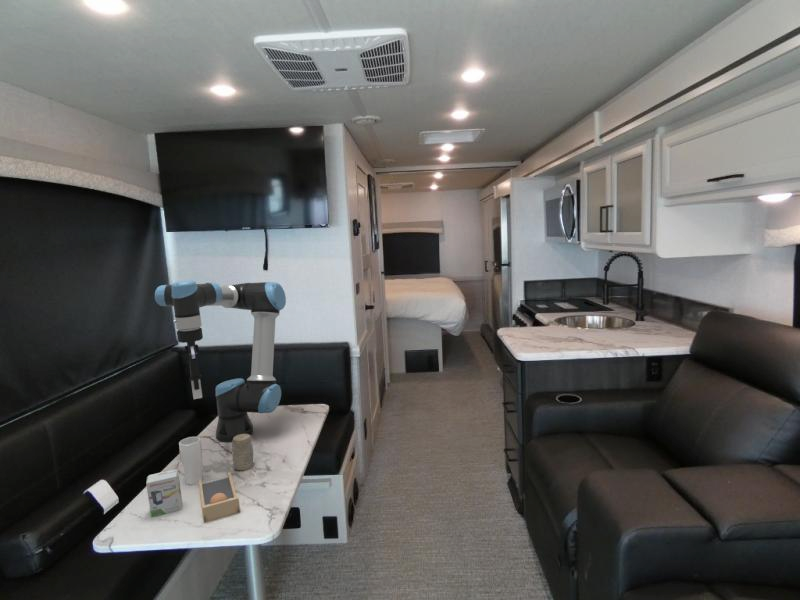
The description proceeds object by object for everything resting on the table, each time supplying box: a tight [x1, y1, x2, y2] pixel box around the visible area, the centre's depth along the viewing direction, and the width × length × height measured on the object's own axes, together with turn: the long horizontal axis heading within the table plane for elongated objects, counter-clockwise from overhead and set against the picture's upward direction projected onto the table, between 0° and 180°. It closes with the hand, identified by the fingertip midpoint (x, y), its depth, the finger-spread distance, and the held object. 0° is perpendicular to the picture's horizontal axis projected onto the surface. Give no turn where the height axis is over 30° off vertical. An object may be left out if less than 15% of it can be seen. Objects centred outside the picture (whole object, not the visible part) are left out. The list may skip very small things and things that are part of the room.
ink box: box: [145, 469, 183, 518], centre depth 142 cm, size 9×5×12 cm, turn 114°
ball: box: [210, 493, 228, 504], centre depth 141 cm, size 5×5×5 cm
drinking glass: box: [178, 436, 204, 486], centre depth 159 cm, size 7×7×15 cm
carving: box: [231, 434, 255, 471], centre depth 167 cm, size 6×8×12 cm
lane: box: [198, 471, 241, 523], centre depth 148 cm, size 24×10×5 cm, turn 26°
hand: (197, 397), depth 156 cm, fingers closed
